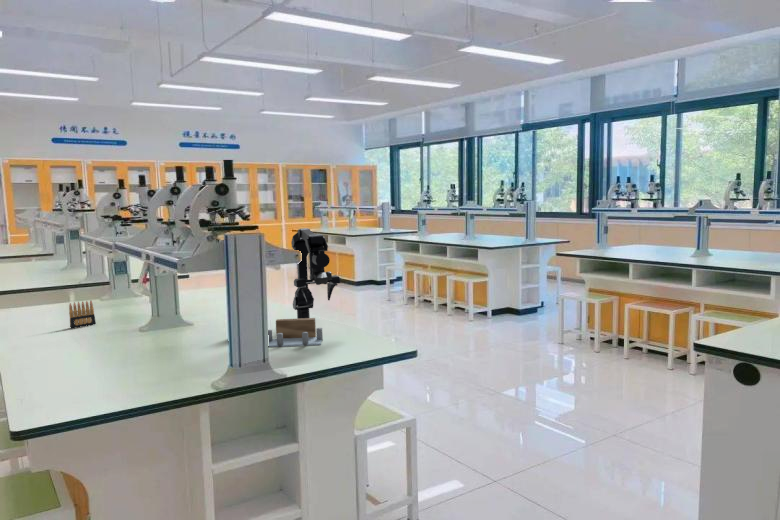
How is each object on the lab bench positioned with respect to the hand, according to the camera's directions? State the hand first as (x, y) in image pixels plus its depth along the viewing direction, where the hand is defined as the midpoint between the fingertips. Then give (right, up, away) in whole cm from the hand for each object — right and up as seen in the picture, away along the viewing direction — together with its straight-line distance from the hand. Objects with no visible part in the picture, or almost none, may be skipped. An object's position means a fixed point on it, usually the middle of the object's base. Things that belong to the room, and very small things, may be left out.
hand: (318, 301), depth 242 cm
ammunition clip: (-115, -14, +31) cm, 120 cm away
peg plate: (-9, -16, -8) cm, 20 cm away
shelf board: (-9, -15, -1) cm, 18 cm away
